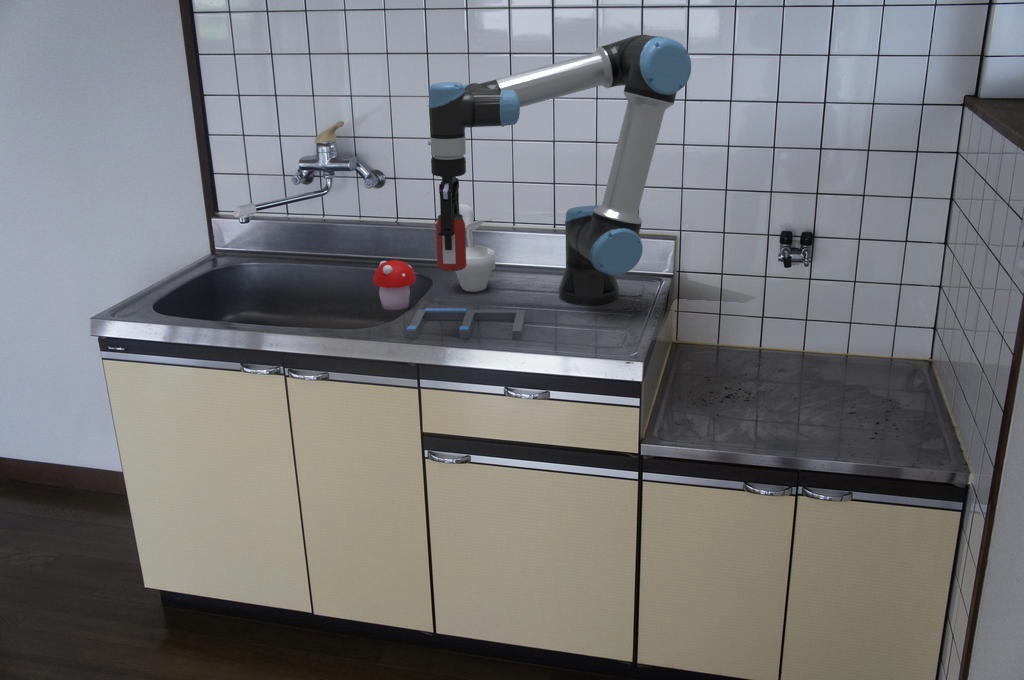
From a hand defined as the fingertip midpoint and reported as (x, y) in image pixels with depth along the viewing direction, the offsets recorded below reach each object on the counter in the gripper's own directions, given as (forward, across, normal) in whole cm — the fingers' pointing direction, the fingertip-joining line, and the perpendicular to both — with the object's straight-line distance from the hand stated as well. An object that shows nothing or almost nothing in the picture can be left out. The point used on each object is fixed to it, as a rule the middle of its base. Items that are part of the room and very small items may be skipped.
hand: (451, 258), depth 218 cm
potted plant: (+18, -32, +2) cm, 37 cm away
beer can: (+2, 0, 0) cm, 2 cm away
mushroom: (+18, -19, -17) cm, 31 cm away
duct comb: (+18, -3, +3) cm, 18 cm away
